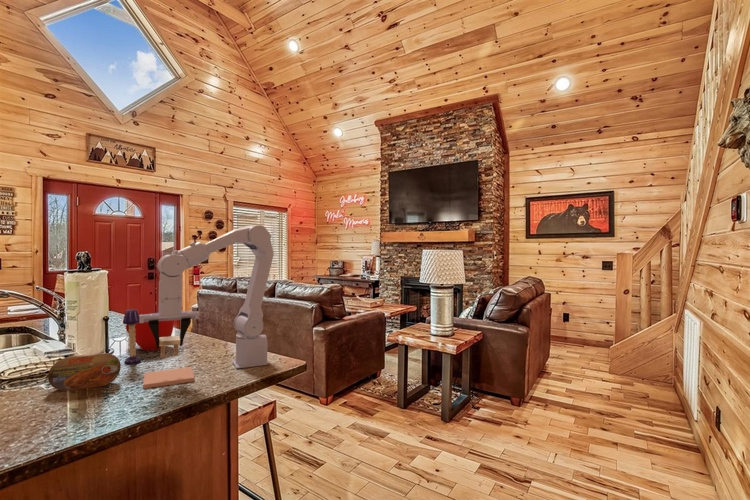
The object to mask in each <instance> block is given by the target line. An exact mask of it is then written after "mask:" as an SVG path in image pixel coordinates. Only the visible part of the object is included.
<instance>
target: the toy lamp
mask: <svg viewBox="0 0 750 500" xmlns="http://www.w3.org/2000/svg"><path fill="white" fill-rule="evenodd" d="M139 316H140V314H139V311H138V309H136V308H133V309H132V308H131V309H130V308H129V309H126V310H125V312H124V316H123V319H122V324H123V325H127V324H129V333H128V337H129V339H128V342H129V343H128V346H129V349H128V352H129V353H128V355H129V356H128V357H127V358H126V359H125V360H124V365H128V366H129V365H137V364H139V363H141V361H142V360H141V358H140V357H139V356H137V351H136V349H137V348H136V346H137V343H136V342H135V341H136V338H135V335H136V334H135V324H136V323H139Z"/></svg>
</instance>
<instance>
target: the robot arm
mask: <svg viewBox="0 0 750 500" xmlns="http://www.w3.org/2000/svg"><path fill="white" fill-rule="evenodd" d="M271 238H272V235H271V233H270V232H269V231H268V229H267V228H266V227H265V226H263V225H259V224H258V225H245V226H243V227H238V228H235V229H233V230H230V231H229V232H226V233H224V234H222V235H220V236H218V237H216V238H215V239H212V240H210V241H208V242H206V243H203V242H201V241H197V242H195V241H192V242H190V243H188V244H189V245H188V246H186V247H183V248H181V249H179V250H177V249H175V250H173V251H172V253H173V254H166V255H163V256H162V257H160V259H159V260H158V262H157V264H156V268H157V271H158V272H159V277H158V278H159V281H158V312H155V313H153V312H152V313H145V314H139V323H144V322H149V328H150V329H151V331H152V333H153V336H154V338H155V342H156V348H159V321H169V320H174V321H179V324H180V325H179V327H180V328H179V329H180V330H179V331H180V332H179V336H180V345H179V347H182V346H183V345H184V344H183V343H184V339H185V336H186V333H187V332H188V329H189V327H190V325H191V323H192V321H191V320H199V319H200V312H199V310H197V311H194V310H193V311H189V310H188V311H182V310H183V307H182V305H183V273H185V269H186V270H188V269H191V268H193V267H195V266H197V265H199V264H201V263H203V262H206V261H207V260H208V259H209V258H210V255H211V254H212V253H215V252H218V251H219V250H222V249H224V248H226V247H228V246H232V245H234V244H236V243H237V244H243V245H244V246H246V247H247V248H249V249H250V251H251V252H252V253H253V255H254V256H255V257H254V262H253V267H252V271H251V274H250V279H249V283H248V286H247V290H246V291H247V292H246V294H245V300H244V303H243V305H242V306H240V308H239V310H238V311H239V312H238V314H237V315H236V317H235V318H234V320H233V327H234V330H236V334H235V359H232V360H231V361H232V363H233V365H234V366H235V368H236V369H246V368H251V367H258V366H267V365H268V364H269V363H268V337H267V335H266V334H262V332H263V329H264V321H263V317H264V313H263V309H262V305H263V301H264V296H265V292H266V288H267V283H268V279H269V275H270V271H271V267H272V263H273V258H274V249H273V245H272V241H271ZM163 318H167V319H163Z"/></svg>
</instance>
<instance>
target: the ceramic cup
mask: <svg viewBox="0 0 750 500" xmlns="http://www.w3.org/2000/svg"><path fill="white" fill-rule="evenodd" d="M163 319H167V318H163ZM174 321H175V320H169V321H159V337H170V336H172V334H173V331H174V324H175V323H174ZM125 325H126V326H125V329H126V332H127V334H129V324H125ZM135 334H136V335H135V338H136V341H135V343H136V346H138V347H139V348H141V350H142V351H156V350H161V346H159V348H156V342H155V338H154V336H153V333H152V331H151V329H150V328H149V322H144V323H136V324H135Z"/></svg>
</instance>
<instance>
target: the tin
mask: <svg viewBox="0 0 750 500" xmlns="http://www.w3.org/2000/svg"><path fill="white" fill-rule="evenodd" d="M121 364H122V363H121V362H120V359H119V358H118V357H117V356H116V354H115V355H114V354H112V353H109V352H108V353H107V352H100V353H92V354H84V355H83V354H82V355H73V356H71V355H70V356H67V357H63V358H61V359H59V360H58V361H56V362H55V363H53V365H52V366H51V367H50V369H49V370H48V374H47V380H48V383H49V384H50V386H51V387H52V388H54V389H55V390H58V391H62V392H63V391H64V392H67V391H74V390H75V391H77V390H83V389H89V388H90V389H91V388H98V387H104V386H107V385H110V384H111V383H113V382H114V381H115V380H116V379H117V378H118V376H119V374H120V372H121V369H122V366H121Z"/></svg>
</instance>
